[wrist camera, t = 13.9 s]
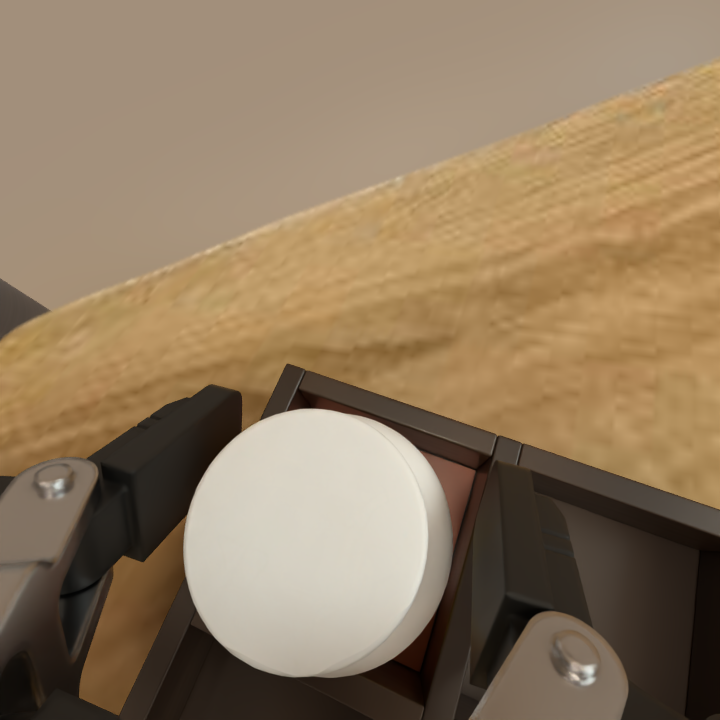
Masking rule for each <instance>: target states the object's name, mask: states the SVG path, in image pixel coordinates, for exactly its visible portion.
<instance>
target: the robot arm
mask: <svg viewBox="0 0 720 720" xmlns="http://www.w3.org/2000/svg"><path fill="white" fill-rule="evenodd" d="M241 431H242V396H241V393H240V392H239V391H236V390H232V389H228V388H224V387H221V386H217V385H213V384H211V385H208V386H207V387H205V388H204V389H202V390H201V391H200V392H198V393H197V394H195V395H194V396H193V397H191V398H188V397H187V398H184V399H181V400H178V401H175V402H172V403H169V404H167V405H165V406H164V407H162V408H161V409H159V410H158V411H156V412H155V413H153V414H152V415H151V417H150V418H148V417H147V418H146V419H144V420H143V421H141V422H140V423H138V425H137V427H133V428H131V429H130V430H128V431H127V432H125V433H124V434H122V435H121V436H119V437H118V438H116V439H115V440H113V441H112V442H110V443H109V444H107V445H106V446H105V447H103V448H102V449H100V450H99V451H97V452H96V453H94V454H93V455H91V456H90V457H88V458H87V459H83V458H77V457H64V458H57V459H52V460H48V461H45V462H42V463H39V464H36V465H34V466H32V467H30V468H28V469H26V470H25V471H23V472H21V473H20V474H19V475H17V476H16V477H11V476H0V720H121V718H120V717H119V716H118V715H115V714H113V713H111V712H109V711H106V710H104V709H102V708H100V707H98V706H95V705H93V704H91V703H89V702H87V701H84V700H82V699H80V698H79V685H80V678H81V673H82V669H83V666H84V663H85V660H86V657H87V654H88V651H89V648H90V645H91V642H92V639H93V636H94V633H95V630H96V627H97V624H98V621H99V618H100V615H101V612H102V609H103V606H104V603H105V600H106V597H107V594H108V591H109V588H110V585H111V583H112V579H113V565H114V564H115V563H116V562H117V561H118V560H119V559H120V558H121V557H122V556H123V555H124V556H127V557H130V558H132V559H135V560H138V561H140V562H144V561H145V560H146V559H147V558H148V556H149V555H150V554H151V553H152V552H153V551H154V550H155V549H156V548H157V547H158V546H159V544H160V543H161V542H162V541H163V540H164V539H165V538H166V537H167V536H168V535H169V533H170V532H171V531H172V530H173V529H174V528H175V527H176V526H177V525H178V524H179V523H180V521H181V520H182V519H183V518H184V517H185V516H186V515H187V514H188V511H189V507H190V504H191V501H192V499H193V496H194V494H195V491H196V488H197V486H198V484H199V482H200V481H201V479H202V477H203V475H204V474H205V472H206V470H207V469H208V467H209V466H210V464H211V463H212V461H213V460H214V459H215V458H216V456H217V455H218V454H219V453H220V452H221V451H222V449H223V448H224V447H225V446H226V445H227V444H228V443H230V442H231V441H232V440H233V439H234V438H235V437H236V436H237V435H239V434H240V433H241ZM470 684H471V685H474V686H476V687H479V688H482V689H485V690H487V691H486V692H485V694H484V696H483V697H482V699H481V700H480V702H479V704H478V705H477V707H476V709H475V710H474V712H473V713H472V715H471V716H470V718H469V719H468V720H689V719H688V718H686V717H685V716H683V715H681V714H680V713H678V712H677V711H675V710H674V709H672V708H670V707H669V706H667V705H666V704H664V703H662V702H661V701H659V700H658V699H656V698H654V697H653V696H651V695H650V694H648V693H647V692H645V691H644V690H642V689H641V688H640V687H638V686H637V685H636V684H635V683H633V682H632V681H631V680H630V679H629V678H627V676H626V672H625V670H624V667H623V665H622V663H621V661H620V659H619V657H618V656H617V654H616V653H615V651H614V650H613V648H612V647H611V646H610V645H609V644H608V642H607V641H606V640H605V639H604V638H603V637H602V636H601V635H600V634H599V633H598V632H597V631H595V630H594V629H593V625H592V621H591V617H590V614H589V610H588V606H587V602H586V598H585V594H584V590H583V586H582V582H581V578H580V574H579V570H578V566H577V562H576V558H574V551H573V547H572V543H571V541H570V535H569V531H568V527H567V523H566V519H565V517H564V515H563V514H562V512H561V511H560V510H559V508H558V507H557V506H556V504H555V503H554V501H553V500H552V499H551V498H550V497H546V496H543V495H539V494H535V492H534V486H533V480H532V475H531V470H530V469H529V468H525V467H521V466H518V465H514V464H510V463H506V462H502V461H499V460H496V461H495V462H494V464H493V467H492V469H491V473H490V476H489V479H488V482H487V485H486V488H485V491H484V494H483V497H482V500H481V503H480V507H479V510H478V513H477V517H476V522H475V528H474V536H473V571H472V610H471V650H470ZM706 720H720V714H714V715H712V716H709V717H708V718H707V719H706Z"/></svg>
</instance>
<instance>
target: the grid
mask: <svg viewBox="0 0 720 720" xmlns="http://www.w3.org/2000/svg"><path fill="white" fill-rule="evenodd" d="M298 409H324V410H332V411H336V412H341V413H344V414H352V415H357V416H362V417H366V418H369V419H372V420H375V421H377V422H379V423H382V424H384V425H386V426H387V427H389V428H391V429H393V430H395V431H396V432H398V433H399V434H401V435H402V436H403V437H405V438H406V439H407V440H408V441H410V442H411V443H412V444H413V445H414V446H415V447H416V448H417V449H418V450H419V451H420V453H421V454H422V455H423V456H424V457H425V458H426V460H427V461H428V463H429V464H430V465H431V467H432V468H433V470H434V472H435V474H436V475H437V477H438V479H439V481H440V483H441V486H442V488H443V491H444V493H445V496H446V500H447V503H448V507H449V511H450V517H451V523H452V531H453V554H452V563H451V569H450V574H449V578H448V582H447V585H446V588H445V591H444V594H443V596H442V599H441V601H440V603H439V605H438V607H437V609H436V611H435V613H434V615H433V617H432V618H431V620H430V621H429V623H428V624H427V625H426V627H425V628H424V629H423V631H422V632H421V633H420V635H419V636H418V637H417V638H416V639H415V640H414V641H413V642H412V643H411V644H410V645H409V646H408V647H407V648H406V649H405V650H403V651H402V652H401V653H400V654H398V655H397V656H396V657H394V658H393V659H391V660H389V661H388V662H386V663H384V664H382V665H380V666H378V667H376V668H374V669H371V670H369V671H366V672H362V673H359V674H356V675H350V676H343V677H337V678H325V677H315V676H311V677H287V676H280V675H276V674H272V673H268V672H265V671H262V670H259V669H256V668H254V667H252V666H251V665H249V664H247V663H246V662H244V661H242V660H240V659H239V658H237V657H236V656H234V655H233V654H231V653H230V652H229V651H228V650H227V649H226V648H225V647H224V646H223V645H222V644H220V643H219V642H218V641H217V640H216V639H215V637H214V636H213V635H212V634H211V632H210V631H209V630H208V628H207V627H206V625H205V623H204V622H203V620H202V618H201V617H200V615H199V613H198V611H197V609H196V607H195V605H194V603H193V600H192V597H191V594H190V591H189V587H188V583H187V579H186V576H185V578H184V580H183V583H182V585H181V587H180V589H179V591H178V593H177V595H176V597H175V599H174V601H173V604H172V606H171V608H170V610H169V612H168V614H167V616H166V618H165V620H164V622H163V625H162V627H161V629H160V631H159V633H158V635H157V637H156V639H155V641H154V643H153V646H152V648H151V650H150V652H149V654H148V656H147V658H146V660H145V662H144V664H143V667H142V669H141V671H140V673H139V675H138V677H137V679H136V681H135V683H134V685H133V688H132V690H131V692H130V694H129V696H128V698H127V700H126V702H125V704H124V706H123V709H122V711H121V713H120V715H119V717H120V718H121V720H468V719H469V718H470V716H471V715H472V713H473V712H474V710H475V709H476V707H477V705H478V704H479V702H480V700H481V699H482V697H483V696H484V694H485V692H486V691H487V690H485V689H482V688H479V687H476V686H474V685H471V684H470V650H471V610H472V571H473V536H474V528H475V522H476V517H477V513H478V510H479V507H480V503H481V500H482V497H483V494H484V491H485V488H486V485H487V482H488V479H489V476H490V473H491V469H492V467H493V464H494V462H495V461H496V460H499V461H502V462H506V463H510V464H514V465H518V466H521V467H525V468H529V469H530V470H531V475H532V480H533V486H534V492H535V494H539V495H543V496H546V497H550V498H551V499H552V500H553V501H554V503H555V504H556V506H557V507H558V508H559V510H560V511H561V512H562V514H563V515H564V517H565V519H566V523H567V527H568V531H569V535H570V541H571V543H572V547H573V551H574V558H576V562H577V566H578V570H579V574H580V578H581V582H582V586H583V590H584V594H585V598H586V602H587V606H588V610H589V614H590V617H591V621H592V625H593V629H594V630H595V631H597V632H598V633H599V634H600V635H601V636H602V637H603V638H604V639H605V640H606V641H607V642H608V644H609V645H610V646H611V647H612V648H613V650H614V651H615V653H616V654H617V656H618V657H619V659H620V661H621V663H622V665H623V667H624V670H625V672H626V676H627V678H629V679H630V680H631V681H632V682H633V683H635V684H636V685H637V686H638V687H640V688H641V689H642V690H644V691H645V692H647V693H648V694H650V695H651V696H653V697H654V698H656V699H658V700H659V701H661V702H662V703H664V704H666V705H667V706H669V707H670V708H672V709H674V710H675V711H677V712H678V713H680V714H681V715H683V716H685V717H686V718H688V719H689V720H706V719H707V718H708V717H709V716H712V715H714V714H720V510H719V509H716V508H713V507H710V506H707V505H704V504H701V503H698V502H695V501H692V500H689V499H687V498H684V497H681V496H678V495H675V494H672V493H669V492H666V491H663V490H660V489H657V488H654V487H651V486H648V485H645V484H642V483H639V482H636V481H633V480H631V479H628V478H625V477H622V476H619V475H616V474H613V473H610V472H607V471H604V470H601V469H598V468H595V467H592V466H589V465H586V464H583V463H580V462H577V461H574V460H572V459H569V458H566V457H563V456H560V455H557V454H554V453H551V452H548V451H545V450H542V449H539V448H536V447H533V446H530V445H527V444H522V443H521V442H518V441H515V440H512V439H509V438H506V437H503V436H498V437H497V435H496V434H494V433H491V432H488V431H485V430H482V429H479V428H476V427H473V426H470V425H468V424H465V423H462V422H459V421H456V420H453V419H450V418H447V417H444V416H441V415H438V414H435V413H432V412H429V411H426V410H423V409H420V408H417V407H414V406H412V405H409V404H406V403H403V402H400V401H397V400H394V399H391V398H388V397H385V396H382V395H379V394H376V393H373V392H370V391H367V390H364V389H361V388H358V387H355V386H353V385H350V384H347V383H344V382H341V381H338V380H335V379H332V378H329V377H326V376H323V375H320V374H317V373H314V372H311V371H306V370H305V369H303V368H300V367H297V366H294V365H291V364H286V366H285V368H284V370H283V373H282V375H281V377H280V379H279V381H278V383H277V385H276V387H275V389H274V391H273V394H272V396H271V398H270V400H269V402H268V404H267V406H266V408H265V410H264V412H263V415H262V417H261V419H260V421H261V420H263V419H266V418H268V417H271V416H273V415H276V414H280V413H283V412H288V411H293V410H298Z"/></svg>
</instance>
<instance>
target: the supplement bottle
mask: <svg viewBox="0 0 720 720" xmlns="http://www.w3.org/2000/svg"><path fill="white" fill-rule="evenodd" d="M452 554H453V531H452V523H451V517H450V511H449V507H448V503H447V500H446V496H445V493H444V491H443V488H442V486H441V483H440V481H439V479H438V477H437V475H436V474H435V472H434V470H433V468H432V467H431V465H430V464H429V463H428V461H427V460H426V458H425V457H424V456H423V455H422V454H421V453H420V451H419V450H418V449H417V448H416V447H415V446H414V445H413V444H412V443H411V442H410V441H408V440H407V439H406V438H405V437H403V436H402V435H401V434H399V433H398V432H396V431H395V430H393V429H391V428H389V427H387V426H386V425H384V424H382V423H379V422H377V421H375V420H372V419H369V418H366V417H362V416H357V415H352V414H344V413H341V412H336V411H332V410H324V409H298V410H293V411H288V412H283V413H280V414H276V415H273V416H271V417H268V418H266V419H263V420H261V421H259V422H257V423H255V424H253V425H252V426H250V427H249V428H247V429H246V430H244V431H243V432H241V433H240V434H239V435H237V436H236V437H235V438H234V439H233V440H232V441H231V442H230V443H228V444H227V445H226V446H225V447H224V448H223V449H222V451H221V452H220V453H219V454H218V455H217V456H216V458H215V459H214V460H213V461H212V463H211V464H210V466H209V467H208V469H207V470H206V472H205V474H204V475H203V477H202V479H201V481H200V482H199V484H198V486H197V488H196V491H195V494H194V496H193V499H192V501H191V504H190V507H189V511H188V515H187V519H186V524H185V531H184V544H183V556H184V567H185V574H186V579H187V583H188V587H189V591H190V594H191V597H192V600H193V603H194V605H195V607H196V609H197V611H198V613H199V615H200V617H201V618H202V620H203V622H204V623H205V625H206V627H207V628H208V630H209V631H210V632H211V634H212V635H213V636H214V637H215V639H216V640H217V641H218V642H219V643H220V644H222V645H223V646H224V647H225V648H226V649H227V650H228V651H229V652H230V653H231V654H233V655H234V656H236V657H237V658H239V659H240V660H242V661H244V662H246V663H247V664H249V665H251V666H252V667H254V668H256V669H259V670H262V671H265V672H268V673H272V674H276V675H280V676H287V677H311V676H315V677H325V678H337V677H343V676H350V675H356V674H359V673H362V672H366V671H369V670H371V669H374V668H376V667H378V666H380V665H382V664H384V663H386V662H388V661H389V660H391V659H393V658H394V657H396V656H397V655H398V654H400V653H401V652H402V651H403V650H405V649H406V648H407V647H408V646H409V645H410V644H411V643H412V642H413V641H414V640H415V639H416V638H417V637H418V636H419V635H420V633H421V632H422V631H423V629H424V628H425V627H426V625H427V624H428V623H429V621H430V620H431V618H432V617H433V615H434V613H435V611H436V609H437V607H438V605H439V603H440V601H441V599H442V596H443V594H444V591H445V588H446V585H447V582H448V578H449V574H450V569H451V563H452Z"/></svg>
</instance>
